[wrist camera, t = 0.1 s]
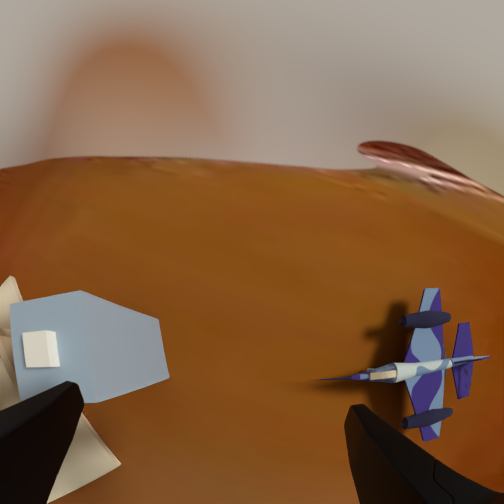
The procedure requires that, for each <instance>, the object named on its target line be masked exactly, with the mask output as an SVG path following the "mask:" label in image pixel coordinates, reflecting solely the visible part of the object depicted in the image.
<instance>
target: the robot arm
mask: <svg viewBox="0 0 504 504" xmlns="http://www.w3.org/2000/svg"><path fill="white" fill-rule="evenodd" d="M83 408H84V399H83V396H82V393H81V391H80V388H79V385H78V384H77V383H75V382H71V381H65V382H63V383H61V384H58V385H56V386H54V387H52V388H50V389H48V390H46V391H43V392H41V393H39V394H37V395H35V396H32V397H30V398H28V399H26V400H23V401H21V402H19V403H17V404H14V405H12V406H10V407H8V408H5V409H3V410H1V411H0V504H47V501H48V498H49V496H50V493H51V490H52V488H53V485H54V483H55V480H56V478H57V475H58V473H59V471H60V468H61V466H62V463H63V461H64V459H65V456H66V454H67V452H68V450H69V447H70V445H71V443H72V440H73V438H74V435H75V432H76V429H77V426H78V422H79V419H80V416H81V413H82V411H83ZM344 429H345V435H346V442H347V449H348V456H349V463H350V468H351V472H352V476H353V480H354V483H355V487H356V491H357V495H358V498H359V502H360V504H504V493H499V492H496V491H493V490H490V489H488V488H486V487H484V486H482V485H480V484H478V483H476V482H474V481H472V480H470V479H468V478H466V477H464V476H463V475H461V474H459V473H457V472H455V471H454V470H452V469H451V468H449V467H448V466H446V465H445V464H443V463H442V462H440V461H439V460H437V459H435V458H434V457H433V456H432V455H430V454H429V453H428V452H426V451H425V450H423V449H422V448H421V447H419V446H418V445H417V444H415V443H414V442H412V441H411V440H410V439H408V438H407V437H406V436H404V435H403V434H402V433H400V432H399V431H398V430H396V429H395V428H394V427H392V426H391V425H390V424H389V423H387V422H386V421H385V420H383V419H382V418H381V417H379V416H378V415H377V414H376V413H374V412H373V411H372V410H370V409H369V408H368V407H367V406H365V405H364V404H356V405H351V406H350V408H349V411H348V414H347V417H346V420H345V424H344Z"/></svg>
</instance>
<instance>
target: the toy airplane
mask: <svg viewBox="0 0 504 504" xmlns="http://www.w3.org/2000/svg"><path fill="white" fill-rule="evenodd" d="M450 319H451V315H450V314H449V313H447V312H442V310H441V297H440V290H439V288H426V289H424V291H423V295H422V300H421V304H420V308H419V312H417V313H413V314H409V315H403V316H402V318H401V320H400V321H398V322H399V323H401V325H402V327H403V328H406V327H407V328H414V330H413V333H412V337H411V340H410V343H409V346H408V350H407V353H406V356H405V359H404V362H403V363H390V364H387V365H384V366H381V367H378V368H367V371H366V372H363V373H360V374H356V375H351V376H347V377H342V378H332V379H321V380H343V379H344V380H362V381H371V382H382V383H396V382H399V381H403V380H404V381H405V384H406V387H407V390H408V393H409V396H410V399H411V403H412V406H413V409H414V412H415V414H414V415H412V416H409V417H406V418H404V419H403V421H402V423H401V424H399V425H402V426H403V428H404V429H408V428H418V427H419V429H420V432H421V436H422V440H423V441H428V440H432V439H435V438H438V437H439V434H440V426H441V421H442V420H444V419H445V418H447V417H449V416H451V415H452V413H453V410H452V409H451V408H442V407H443V392H444V379H445V376H446V373H447V369H448V368H451V367H452V372H453V377H454V382H455V387H456V393H457V399H460V398H463V397H466V396H469V390H470V384H471V377H472V370H473V361H478V360H483V359H487V358H490V356H480V357H475V356H474V355H473V346H472V338H471V331H470V325H469V322H468V323H459V324H458V329H457V335H456V340H455V346H454V351H453V356H452V358H449V359H448V358H447V354H446V351H445V347H444V344H443V327H442V324H444V323H446V322H449V321H450ZM443 350H444V353H445V357H446V359H443ZM369 369H371V370H369ZM444 369H446V370H445V374H444Z"/></svg>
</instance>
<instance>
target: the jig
mask: <svg viewBox="0 0 504 504" xmlns="http://www.w3.org/2000/svg"><path fill="white" fill-rule="evenodd" d="M18 302H23V299H22V297H21V294H20V291H19V289H18V286H17V283H16V280H15V277H12V276H9V277H8V279H7V280H6V281H5V282H4V283H3V284H2V285H1V287H0V411H1V410H3V409H5V408H8V407H10V406H12V405H14V404H17V403H19V402H21V399H20V394H19V389H18V384H17V378H16V372H15V365H14V357H13V348H12V338H11V325H10V304H13V303H18ZM119 465H121V463H120V462H119V460H118V459H117V458H116V457H115V456H114V454H113V453H112V452H111V451H110V450H109V448H108V447H107V446H106V445H105V443H104V442H103V441H102V439H101V438H100V437H99V435H98V434H97V433H96V431H95V430H94V429H93V427H92V426H91V425H90V423H89V422H88V420H87V419H86V418H85V416H84V415H83V413H81V416H80V419H79V422H78V426H77V429H76V432H75V435H74V438H73V440H72V443H71V445H70V447H69V450H68V452H67V454H66V456H65V459H64V461H63V463H62V466H61V468H60V471H59V473H58V475H57V478H56V480H55V483H54V485H53V488H52V490H51V493H50V496H49V498H48V501H47V503H49V502H51V501H53V500H55V499H58V498H60V497H62V496H64V495H66V494H68V493H70V492H72V491H74V490H76V489H78V488H80V487H82V486H84V485H86V484H88V483H90V482H92V481H93V480H95V479H97V478H99V477H101V476H103V475H104V474H106V473H108V472H110V471H111V470H113V469H115V468H117V467H118V466H119Z"/></svg>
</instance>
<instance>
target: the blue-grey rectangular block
mask: <svg viewBox="0 0 504 504" xmlns="http://www.w3.org/2000/svg"><path fill="white" fill-rule="evenodd" d="M10 325H11V338H12V348H13V357H14V365H15V372H16V378H17V384H18V389H19V394H20V399H21V401H23V400H26V399H28V398H30V397H32V396H35V395H37V394H39V393H41V392H43V391H46V390H48V389H50V388H52V387H54V386H56V385H58V384H61V383H63V382H65V381H71V382H75V383H77V384H78V385H79V388H80V391H81V393H82V396H83V399H84V403H98V402H101V401H104V400H107V399H111V398H114V397H117V396H120V395H123V394H126V393H129V392H132V391H135V390H138V389H140V388H143V387H146V386H149V385H152V384H154V383H157V382H160V381H163V380H165V379H168V378H169V373H168V369H167V364H166V359H165V354H164V348H163V343H162V337H161V332H160V326H159V320H158V319H156V318H153V317H150V316H148V315H145V314H142V313H139V312H136V311H133V310H131V309H128V308H125V307H122V306H120V305H117V304H114V303H112V302H109V301H106V300H104V299H101V298H99V297H96V296H94V295H91V294H89V293H86V292H84V291H81V290H79V291H74V292H69V293H64V294H59V295H54V296H49V297H44V298H38V299H33V300H28V301H23V302H18V303H13V304H10Z"/></svg>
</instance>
